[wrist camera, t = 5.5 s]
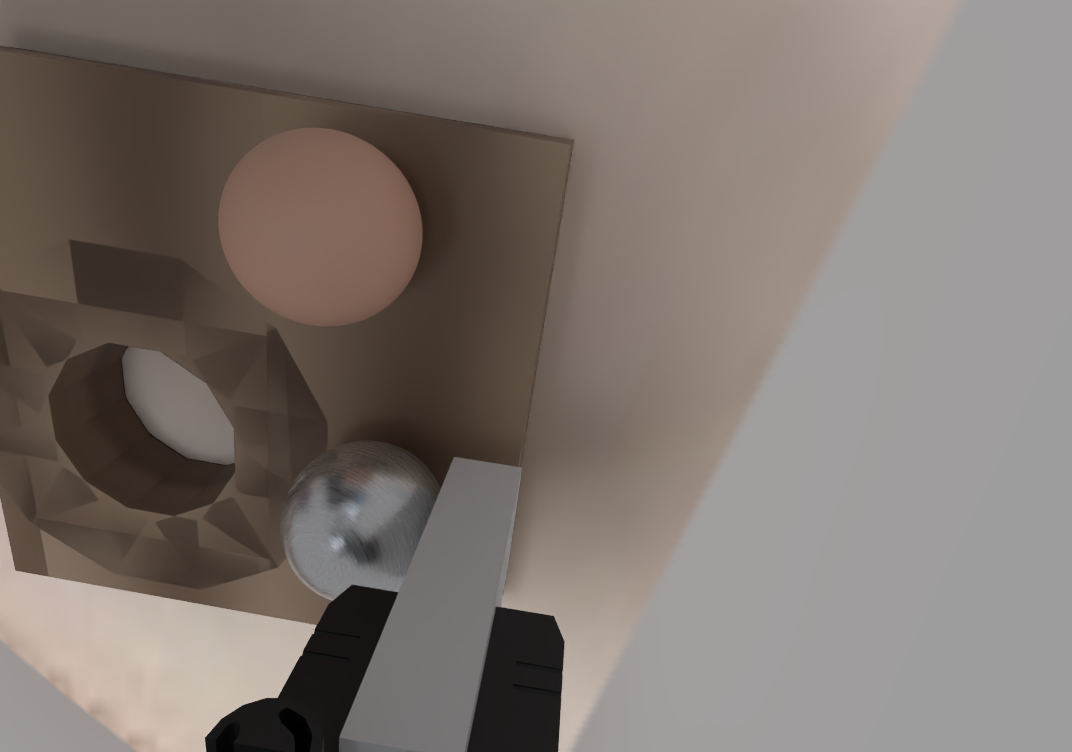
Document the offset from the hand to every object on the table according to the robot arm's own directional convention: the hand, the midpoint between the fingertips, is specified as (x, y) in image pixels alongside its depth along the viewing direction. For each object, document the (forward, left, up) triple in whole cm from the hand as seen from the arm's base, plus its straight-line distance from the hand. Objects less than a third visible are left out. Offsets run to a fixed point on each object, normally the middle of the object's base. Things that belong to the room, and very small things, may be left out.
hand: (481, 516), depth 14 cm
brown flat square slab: (-6, +1, -4) cm, 7 cm away
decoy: (-3, +6, 0) cm, 7 cm away
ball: (-2, 0, 0) cm, 2 cm away
